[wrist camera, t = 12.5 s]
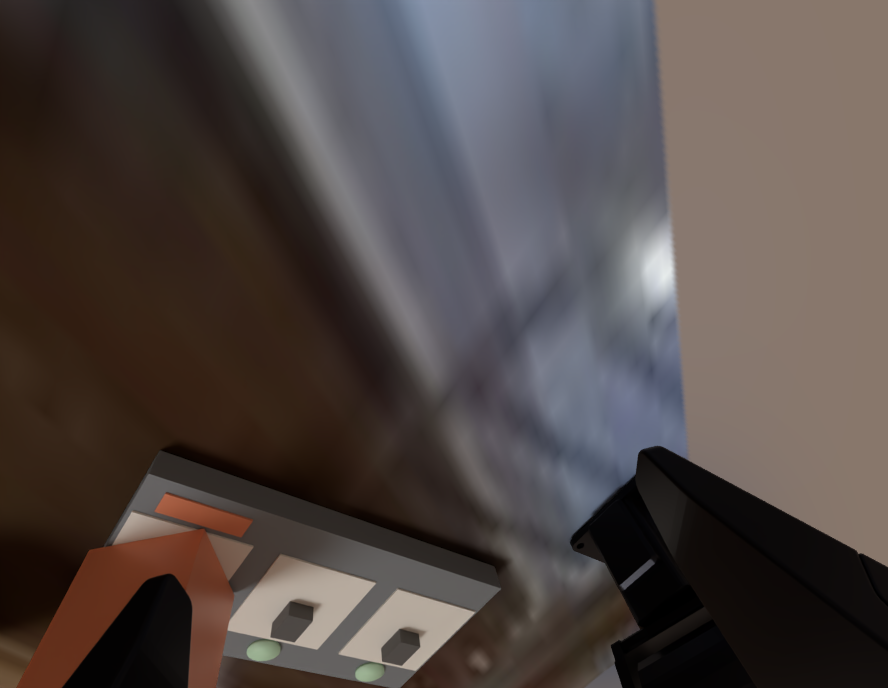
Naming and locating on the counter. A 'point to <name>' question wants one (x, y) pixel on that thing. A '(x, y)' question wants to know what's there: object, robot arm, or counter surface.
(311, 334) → the counter surface
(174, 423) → the counter surface
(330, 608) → the breaker panel
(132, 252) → the counter surface
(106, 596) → the block
